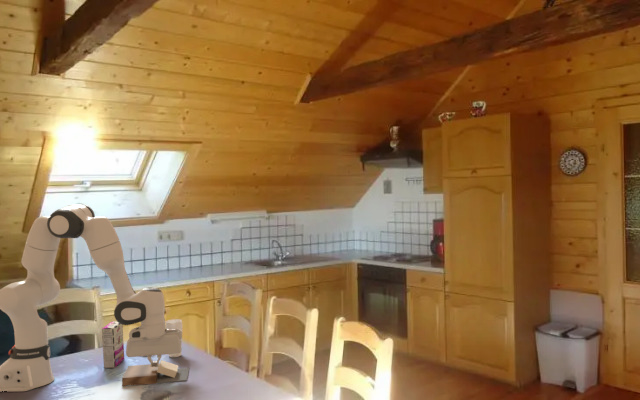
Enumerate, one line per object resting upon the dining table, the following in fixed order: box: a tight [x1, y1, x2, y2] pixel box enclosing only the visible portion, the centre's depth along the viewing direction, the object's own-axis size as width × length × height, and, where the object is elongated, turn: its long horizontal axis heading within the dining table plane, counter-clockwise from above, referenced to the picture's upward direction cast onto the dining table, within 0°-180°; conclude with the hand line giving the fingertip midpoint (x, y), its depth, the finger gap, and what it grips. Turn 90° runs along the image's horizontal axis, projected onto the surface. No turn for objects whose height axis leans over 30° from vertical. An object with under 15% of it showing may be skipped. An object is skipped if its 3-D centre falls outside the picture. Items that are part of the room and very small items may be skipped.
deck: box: [121, 363, 159, 387], centre depth 215 cm, size 12×14×3 cm
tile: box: [157, 359, 179, 378], centre depth 216 cm, size 7×7×2 cm
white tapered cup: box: [165, 318, 183, 358], centre depth 242 cm, size 7×7×15 cm
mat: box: [156, 367, 190, 384], centre depth 217 cm, size 11×14×1 cm
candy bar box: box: [101, 320, 125, 369], centre depth 233 cm, size 11×5×16 cm, turn 0°
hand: (154, 366), depth 215 cm, fingers closed
